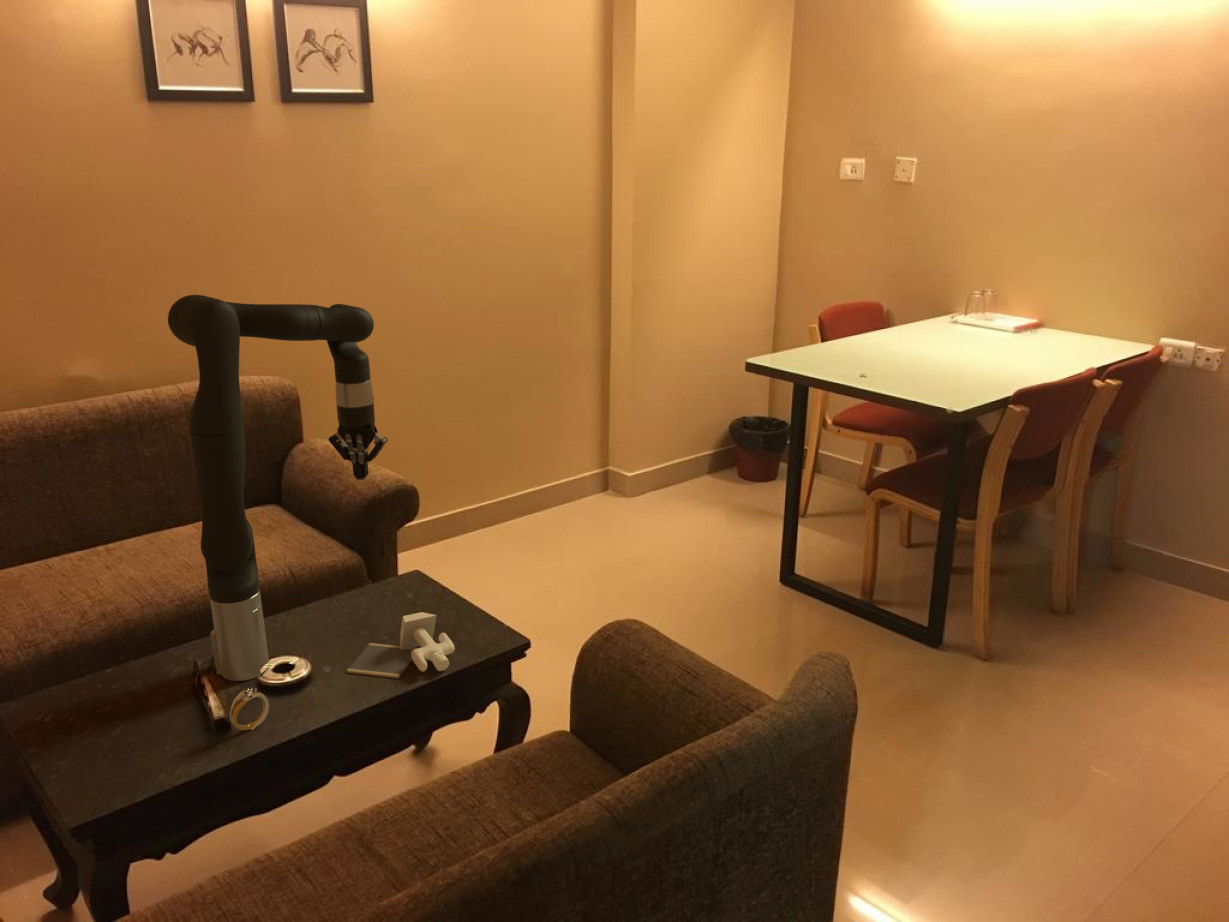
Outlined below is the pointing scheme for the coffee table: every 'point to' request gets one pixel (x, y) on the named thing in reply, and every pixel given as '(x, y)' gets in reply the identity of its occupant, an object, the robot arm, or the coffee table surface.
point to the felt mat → (382, 660)
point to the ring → (246, 696)
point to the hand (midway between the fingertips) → (361, 478)
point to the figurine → (425, 641)
